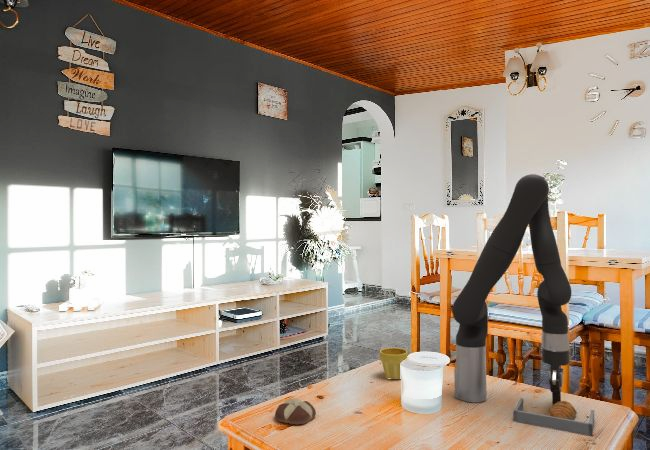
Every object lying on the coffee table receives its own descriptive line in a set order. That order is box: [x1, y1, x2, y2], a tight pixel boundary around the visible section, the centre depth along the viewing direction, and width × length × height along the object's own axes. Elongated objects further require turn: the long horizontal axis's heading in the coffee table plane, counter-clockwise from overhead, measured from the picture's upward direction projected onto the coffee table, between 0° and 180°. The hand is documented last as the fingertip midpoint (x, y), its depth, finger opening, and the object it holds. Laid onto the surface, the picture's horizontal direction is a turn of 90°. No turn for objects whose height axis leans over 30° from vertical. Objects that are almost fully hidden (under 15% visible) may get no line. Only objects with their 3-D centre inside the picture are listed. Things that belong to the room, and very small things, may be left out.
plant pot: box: [379, 347, 409, 380], centre depth 178 cm, size 10×10×10 cm
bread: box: [274, 398, 317, 425], centre depth 143 cm, size 11×11×5 cm
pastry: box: [548, 400, 578, 420], centre depth 140 cm, size 9×7×4 cm
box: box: [512, 398, 595, 437], centre depth 138 cm, size 20×11×3 cm, turn 58°
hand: (556, 404), depth 146 cm, fingers closed
